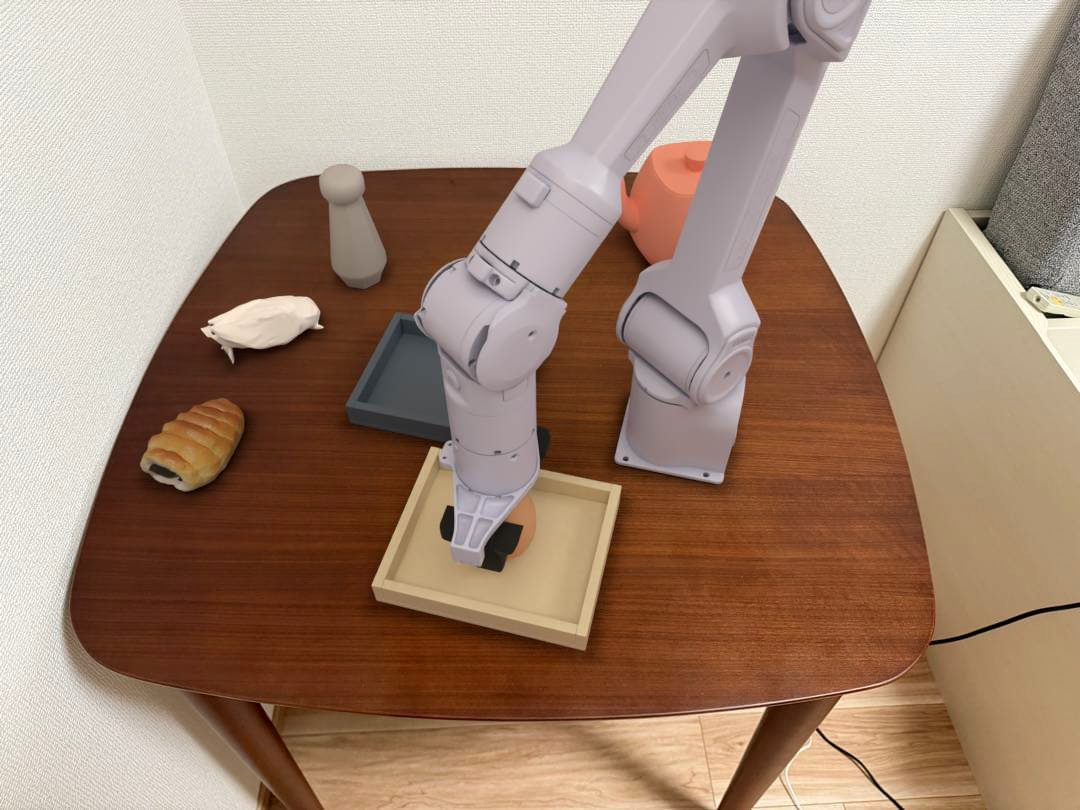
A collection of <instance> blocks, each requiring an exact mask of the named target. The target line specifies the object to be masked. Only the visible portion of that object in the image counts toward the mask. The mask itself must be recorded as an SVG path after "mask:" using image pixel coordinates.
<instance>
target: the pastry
mask: <svg viewBox="0 0 1080 810" xmlns="http://www.w3.org/2000/svg"><path fill="white" fill-rule="evenodd" d="M244 431H245V416H244V412H243V411H242V410H241V409H240V407H239V406H238V405H237V404H235V403H233V402H231V401H230V400H229V399H228V398H225V397H220V398H217V399H211V400H208V401H205V402H204V403H201V404H196V405H193V406H192V407H191V409H190V410H189V411H187V412H180V413H179V414H178V415H177V417H176V418H175V419H174V420H171V421H169V422H166V423H164V424H163V426H162V428H161V432H160V433H158V434H157V433H156V434H154V435H152V436H151V437H150V439H149V440H148V442H147V449H146V451H145V452H144V453H143V455H142V457H141V460H140V463H139V466H140V468H141V471H143V472H144V473H146V474H149V475H150V476H151V477H152V478H153V479H154V480H155V481H157V482H159V483H162V484H166V485H171V486H172V485H173V486H174V488H175V489H177V490H179V491H183V492H191V491H194V490H197V489H199V488H202V487H204V486H206V485H208V484H210V483H212V482H213V481H215V480H216V479H217V478H218V476H219V475H220V473H221V472H222V471H223V470H225V469H226V467H227V465H228V464H229V462H230V461H231V458H232V456H233V455H234V453H235V451H236V449H237V447H238V445H239V443H240V440H241V439H242V436H243V433H244Z"/></svg>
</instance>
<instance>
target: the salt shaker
mask: <svg viewBox="0 0 1080 810" xmlns="http://www.w3.org/2000/svg"><path fill="white" fill-rule="evenodd" d="M318 183H319V190H320V193H321V195H322V197H323V198H324V199H325V200H326V201H327V202H328V213H329V214H328V215H329V246H330V248H329V251H330V263H331V268H332V270H333V272H335V274H336V275H337V276H338V277H339V278H340V279H341V280H342V281H343V282H344V284H346V286H347V287H349V288H355V289H361V290H366V289H368V288H370V287H372V286H374V285H376V284H378V283H380V282H381V278H382V274H383V271H384V269H385V267H386V264H387V261H388V259H387V254H386V249H385V247H384V244H383V243H382V239H381V237H380V234H379V233H378V229H377V228H376V226H375V224H374V220H373V218H372V216H371V214H370V211H369V209H368V207H367V204H366V202H365V199H364V197H363V195H364V193H365V191H366V184H365V179H364V175H363V172H362V171H361V170H360V169H359V168H357V167H356V166H355V165H352V164H348V163H338V164H333V165H330V166H329V167H327V168H325V169H324V170H323V171H322V172H321V174H320V175H319V177H318Z"/></svg>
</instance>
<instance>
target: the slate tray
mask: <svg viewBox="0 0 1080 810" xmlns="http://www.w3.org/2000/svg"><path fill="white" fill-rule="evenodd" d="M345 411H346V414H347V416H348V420H349V423H350V424H353V425H356V426H357V425H358V426H362V427H367V428H371V429H377V430H382V431H387V432H391V433H397V434H400V435H407V436H412V437H415V438H420V439H427V440H430V441H436V442H440V443H444V444H445V443H446V442H447V441H450V440H452V437H451V430H450V424H449V417H448V410H447V403H446V396H445V389H444V382H443V374H442V367H441V359H440V355H439V354H438V347H437V342H436V341H435V340H433V339H430V338H429V337H427V336H426V335H425V334H424V333H423V332H422V331H421V330H420V329H419V328H418V326H417V324H416V322H415V319H414V314H409V313H403V312H398V311H395V312H394V314H393V316H392V318H391V320H390V322H389V324H388V325H387V327H386V329H385V331H384V333H383V335H382V336H381V339H380V340H379V343H378V344H377V346H376V348H375V349H374V351H373V353H372V355H371V357H370V359H369V361H368V362H367V364H366V367H364V370H363V372H362V374H361V376H360V377H359V379H358V381H357V383H356V385H355V387H354V389H353V391H352V392H351V395H350V396H349V398H348V399H347V402H346V403H345Z"/></svg>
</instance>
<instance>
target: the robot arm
mask: <svg viewBox="0 0 1080 810" xmlns="http://www.w3.org/2000/svg"><path fill="white" fill-rule="evenodd" d="M872 2H873V0H649V2H648V4H647V6H646V8H645V9H644V11H643V13H642V15H641V16H640V18H639V19H638V21H637V23H636V25H635V27H634V28H633V30H632V32H631V33H630V35H629V37H628V38H627V41H626V42H625V44H624V46H623V47H622V50H621V51H620V53H619V54H618V57H617V58H616V59H615V62H614V63H613V65H612V66H611V69H610V70H609V72H608V74H607V75H606V77H605V79H604V81H603V83H602V84H601V86H600V88H599V89H598V92H597V93H596V95H595V97H594V98H593V100H592V102H591V103H590V106H589V107H588V109H587V111H586V113H585V114H584V116H583V117H582V120H581V121H580V123H579V125H578V127H577V128H576V130H575V132H574V133H573V135H572V137H571V139H570V140H569V141H568V142H567V143H564V144H562V145H559V146H555V147H551V148H546V149H543V150H540V151H538V152H536V153H535V155H534V157H533V158H532V159H531V161H530V163H529V164H528V166H527V167H526V168H525V170H524V172H523V173H522V174H521V176H520V177H519V179H518V180H517V182H516V184H515V185H514V187H512V190H511V191H510V193H509V194H508V195H507V197H506V199H505V200H504V202H502V204H501V207H499V209H498V211H497V212H496V214H495V215H494V217H493V218H492V220H491V221H490V222H489V224H488V225H487V227H486V228H485V230H484V232H483V233H482V234H481V236H480V237H479V239H478V241H477V242H476V244H475V245H474V247H473V248H472V250H471V251H470V253H469V254H468V255H467V257H461V258H457V259H454V260H452V261H451V262H448V263H446V264H444V266H442V267H441V268H440V269H439V270H437V271H436V272H435V273H434V275H433V276H432V277H431V278H430V280H429V281H428V283H427V284H426V286H425V288H424V290H423V293H422V296H421V300H420V301H421V302H420V307H419V309H418V310H417V311H416V312H414V314H413V315H414V319H415V322H416V324H417V326H418V328H419V329H420V330H421V331H422V332H423V333H424V334H425V335H426V336H427V337H429V338H430V339H433V340H435V341H436V342H437V347H438V354H439V355H440V359H441V367H442V374H443V382H444V389H445V396H446V403H447V410H448V417H449V424H450V430H451V437H452V440H450V441H447V442H446V443H445V442H444V445H443V447H442V448H441V449H442V452H441V454H440V456H439V461H440V465H441V466H442V467H444V468H447V469H450V470H452V472H453V491H454V506H450V505H447V507H446V509H445V512H444V514H443V517H442V519H441V522H440V533H441V537H442V539H444V540H446V541H449V542H451V544H450V548H451V554H452V560H453V561H457V562H461V563H465V564H469V565H475V566H477V567H478V568H482V569H487V570H491V571H495V572H502V570H503V568H504V566H505V563H506V560H507V556H508V555H511V554H513V552H514V551H515V549H516V547H517V545H518V543H519V540H520V536H521V533H522V530H523V527H524V526H523V525H519V524H514V523H510V522H505V521H504V520H505V519H506V518H507V516H508V515H509V514H510V513H511V512H512V511H513V509H514V508H515V507H516V506H517V505H518V503H519V502H520V501H521V500H522V499H523V497H524V496H525V495H526V494H527V493H528V491H529V490H530V489H531V488H532V487H533V485H534V484H535V482H536V480H537V478H538V475H539V471H540V469H541V462H542V461H543V460H544V459H545V458H546V457H547V454H548V450H549V447H550V444H551V441H552V439H551V437H552V436H551V433H550V431H549V430H548V429H547V428H545V427H544V426H541V425H537V370H538V369H539V368H540V367H541V365H542V364H543V362H545V361H546V359H547V358H548V357H549V356H550V354H551V353H552V351H553V349H554V347H555V345H556V342H557V340H558V335H559V328H560V323H561V320H562V318H563V316H564V315H565V314H566V312H567V310H566V309H567V307H568V303H567V302H566V301H565V300H564V299H563V298H564V297H565V296H566V294H567V293H568V291H569V290H570V288H571V287H572V285H573V284H574V283H575V281H576V280H577V278H578V277H579V276H580V275H581V273H582V271H583V270H584V269H585V267H586V266H587V265H588V263H589V262H590V260H591V259H592V258H593V255H595V253H596V252H597V250H598V249H599V247H600V246H601V245H602V243H603V242H604V240H605V239H606V238H607V236H608V235H609V233H610V232H611V231H612V229H613V228H614V226H615V225H616V223H617V222H618V221H617V220H618V219H619V218H620V216H621V214H622V201H621V180H622V178H623V177H624V178H625V176H626V174H627V173H628V172H629V171H630V170H631V168H632V167H633V166H634V165H635V164H636V162H637V161H638V160H639V159H640V158H641V156H642V155H643V154H644V153H645V151H646V150H647V149H648V147H649V146H650V145H652V143H653V142H654V141H655V139H656V138H657V137H658V136H659V134H660V133H661V132H662V131H663V130H664V128H665V127H666V126H667V124H668V123H669V122H670V121H671V120H672V119H673V117H674V116H675V115H676V114H677V112H678V111H679V110H680V109H681V107H682V106H683V105H685V103H686V101H687V100H688V99H689V98H690V97H691V95H692V94H693V93H694V92H695V91H696V89H697V88H698V87H699V86H700V85H701V83H702V82H703V81H704V79H706V78H707V76H708V74H709V73H710V72H711V71H712V70H713V68H715V66H716V65H717V64H718V62H720V61H721V60H725V59H734V58H739V61H738V63H737V68H736V70H735V73H734V75H733V79H732V82H731V84H730V85H731V86H730V88H729V91H728V94H727V96H726V99H725V103H724V105H723V108H722V112H721V114H720V117H719V121H718V124H717V126H716V129H715V132H714V135H713V137H712V140H711V141H712V144H711V147H710V149H709V152H708V155H707V158H706V161H705V164H704V167H703V170H702V173H701V176H700V179H699V182H698V185H697V188H696V191H695V194H694V197H693V200H692V202H691V205H690V208H689V211H688V214H687V217H686V220H685V223H684V226H683V229H682V232H681V235H680V238H679V241H678V244H677V247H676V250H675V253H674V256H673V258H672V259H668V260H664V261H661V262H658V263H655V264H654V265H650V266H648V267H647V268H645V269H643V271H641V272H640V273H639V275H638V278H637V281H636V284H635V286H634V288H633V290H632V292H631V293H630V295H629V296H628V297H627V298H626V300H625V301H624V302H623V305H622V306H621V308H620V311H619V313H618V316H617V321H616V326H615V334H616V337H617V339H618V341H619V342H620V343H622V344H623V345H624V346H626V347H628V353H627V359H628V360H629V361H630V362H631V364H632V375H631V377H632V378H631V385H630V393H629V394H630V395H629V397H628V402H627V405H626V409H625V412H624V413H625V414H624V417H623V421H622V425H621V429H620V433H619V437H618V442H617V446H616V450H615V454H614V457H613V458H614V459H613V460H614V463H615V464H617V465H619V466H624V467H625V466H626V467H630V468H635V469H639V470H644V471H649V472H655V473H659V474H665V475H670V476H675V477H680V478H684V479H689V480H696V481H699V482H704V483H709V484H715V485H721V484H722V483H723V482H724V478H725V472H726V469H727V466H728V462H729V458H730V455H731V452H732V447H733V446H734V445H735V443H736V439H737V434H738V433H737V432H738V426H739V421H740V416H741V413H742V407H743V403H744V402H743V401H744V395H745V389H746V381H747V373H748V371H749V369H750V367H751V365H752V360H753V355H754V354H753V352H754V345H755V344H754V343H755V340H756V338H757V334H758V330H759V328H760V327H761V323H762V322H761V319H760V317H759V314H758V311H757V310H756V308H755V305H754V304H753V302H752V299H751V298H750V296H749V294H748V292H747V289H746V287H745V285H744V282H743V279H742V278H743V275H744V273H745V271H746V268H747V266H748V263H749V261H750V258H751V256H752V253H753V250H754V248H755V246H756V243H757V241H758V240H759V239H758V238H759V236H760V234H761V231H762V229H763V227H764V224H765V221H766V220H767V216H768V214H769V212H770V209H771V208H772V205H773V202H774V200H775V197H776V195H777V192H778V190H779V187H780V185H781V183H782V180H783V178H784V175H785V173H786V170H787V168H788V166H789V162H790V160H791V158H792V156H793V154H794V151H795V148H796V146H797V144H798V141H799V139H800V136H801V134H802V131H803V130H804V127H805V124H806V122H807V119H808V117H809V114H810V112H811V109H812V107H813V106H814V102H815V101H816V97H817V95H818V93H819V90H820V87H821V85H822V84H823V83H822V82H823V80H824V78H825V75H826V73H827V70H828V68H829V65H830V63H843V62H845V61H846V60H847V58H848V56H849V53H850V52H851V50H852V46H853V45H854V42H855V41H856V39H857V37H858V35H859V33H860V30H861V29H862V26H863V23H864V20H865V18H866V16H867V13H868V11H869V9H870V7H871V5H872Z"/></svg>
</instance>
